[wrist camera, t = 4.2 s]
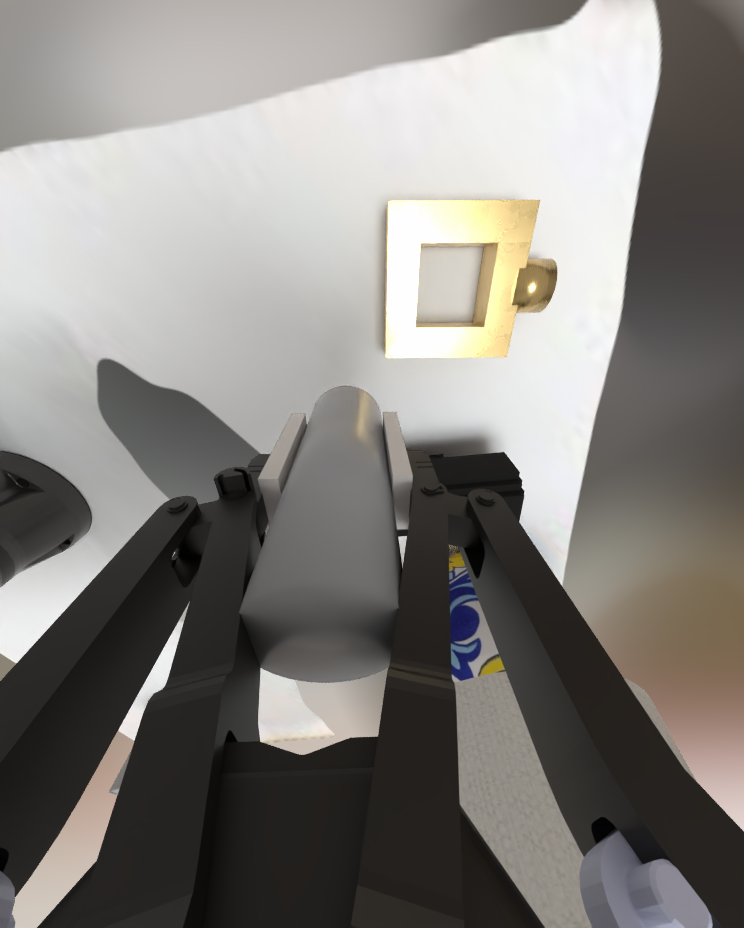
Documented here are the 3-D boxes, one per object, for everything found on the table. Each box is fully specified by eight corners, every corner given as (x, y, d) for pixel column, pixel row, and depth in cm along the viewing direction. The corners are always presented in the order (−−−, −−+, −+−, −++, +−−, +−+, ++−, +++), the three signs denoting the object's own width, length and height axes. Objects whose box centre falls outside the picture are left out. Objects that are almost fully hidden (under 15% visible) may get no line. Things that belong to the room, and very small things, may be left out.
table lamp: (456, 485, 40) (1004, 1782, 5) (590, 562, 47) (1161, 1297, 13) (349, 597, 51) (310, 1233, 17) (470, 644, 59) (609, 1147, 25)
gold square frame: (384, 350, 31) (386, 359, 28) (386, 209, 25) (388, 199, 22) (518, 348, 31) (536, 357, 28) (550, 208, 25) (578, 198, 22)
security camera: (339, 447, 37) (330, 498, 28) (495, 432, 36) (535, 480, 27) (347, 493, 40) (341, 551, 32) (490, 481, 39) (523, 537, 31)
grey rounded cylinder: (316, 450, 21) (253, 685, 9) (308, 386, 19) (211, 584, 7) (380, 449, 21) (406, 680, 9) (381, 385, 19) (417, 579, 7)
